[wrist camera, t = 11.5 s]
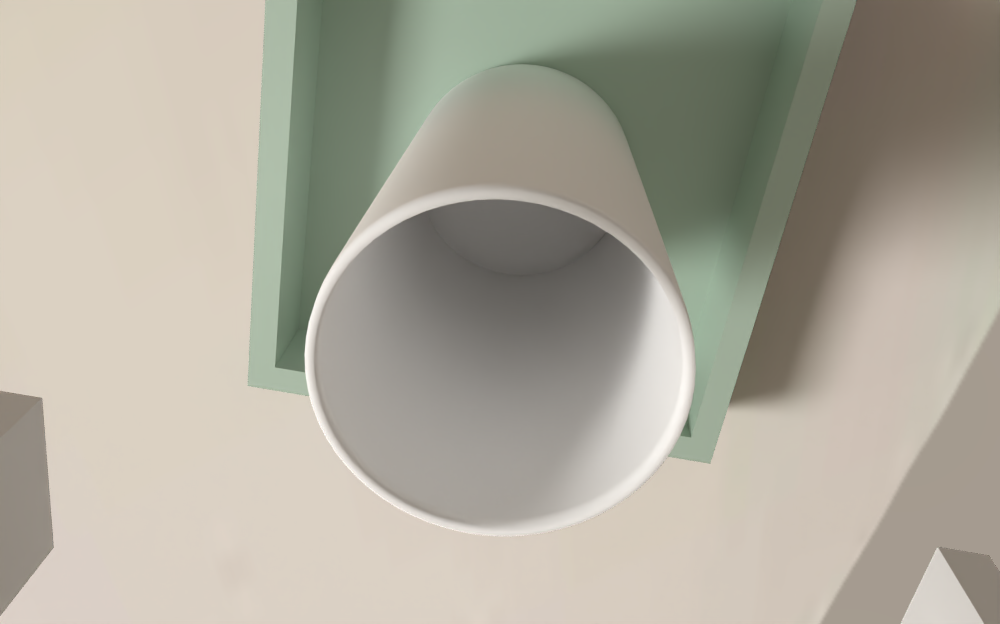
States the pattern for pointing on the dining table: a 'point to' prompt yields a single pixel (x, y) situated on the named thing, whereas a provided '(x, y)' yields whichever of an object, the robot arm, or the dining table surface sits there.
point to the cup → (505, 317)
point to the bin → (597, 63)
